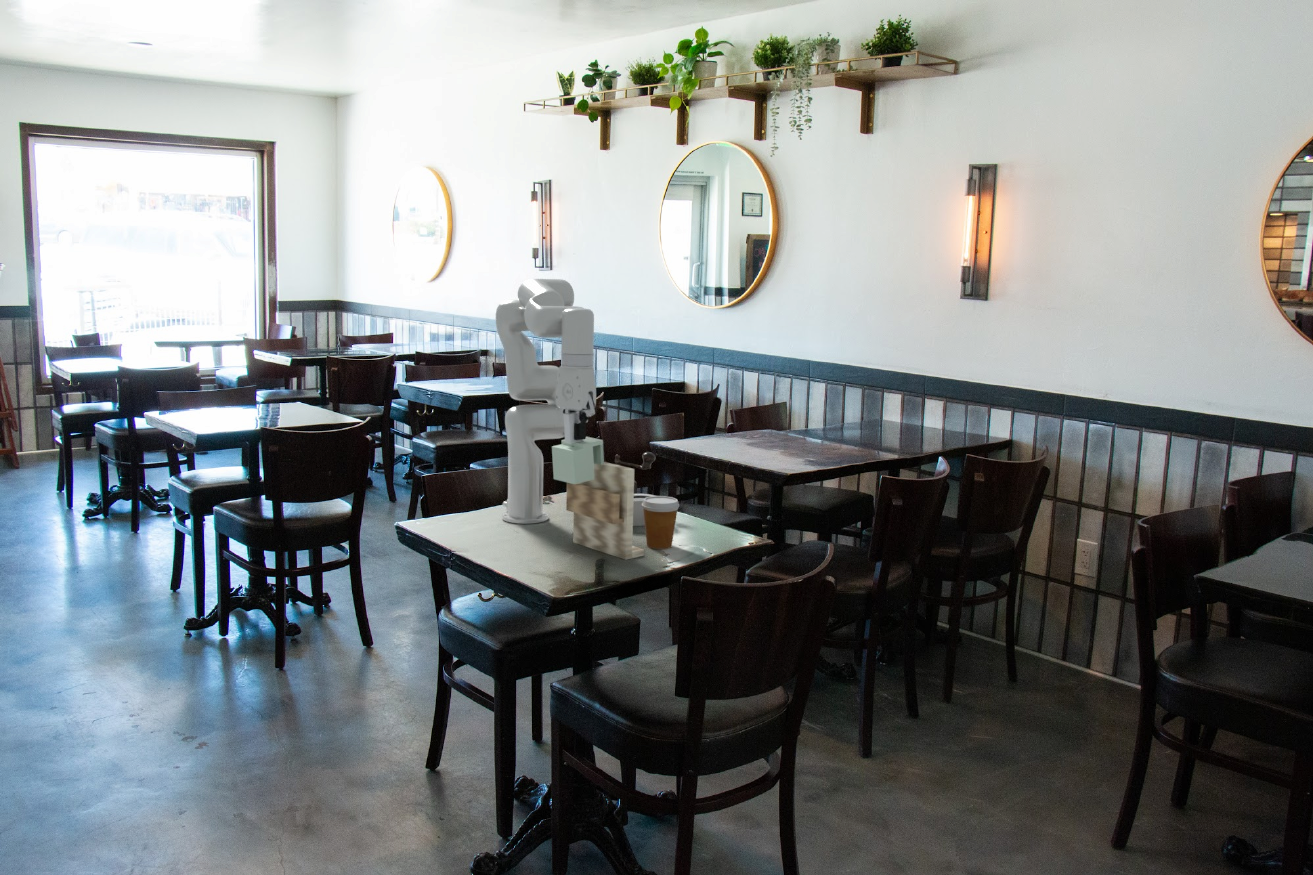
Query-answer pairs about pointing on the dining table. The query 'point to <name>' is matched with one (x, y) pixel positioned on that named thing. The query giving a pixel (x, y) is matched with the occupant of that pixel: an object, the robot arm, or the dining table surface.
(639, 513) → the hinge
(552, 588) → the dining table surface
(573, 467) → the mint green box
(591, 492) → the wall board
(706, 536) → the dining table surface
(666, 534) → the disposable coffee cup
